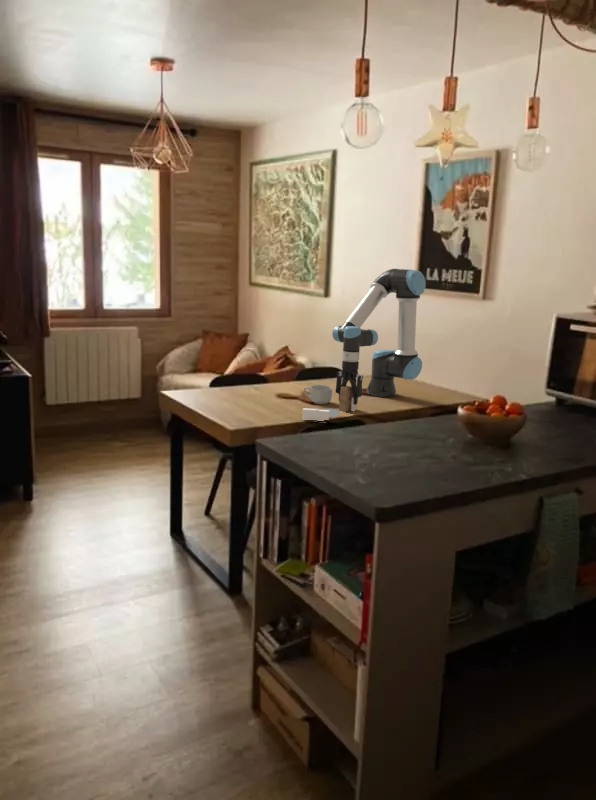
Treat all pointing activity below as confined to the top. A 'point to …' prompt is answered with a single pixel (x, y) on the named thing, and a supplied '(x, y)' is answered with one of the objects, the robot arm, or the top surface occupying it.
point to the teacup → (319, 393)
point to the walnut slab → (345, 398)
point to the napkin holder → (315, 414)
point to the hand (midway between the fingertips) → (347, 409)
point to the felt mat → (333, 412)
